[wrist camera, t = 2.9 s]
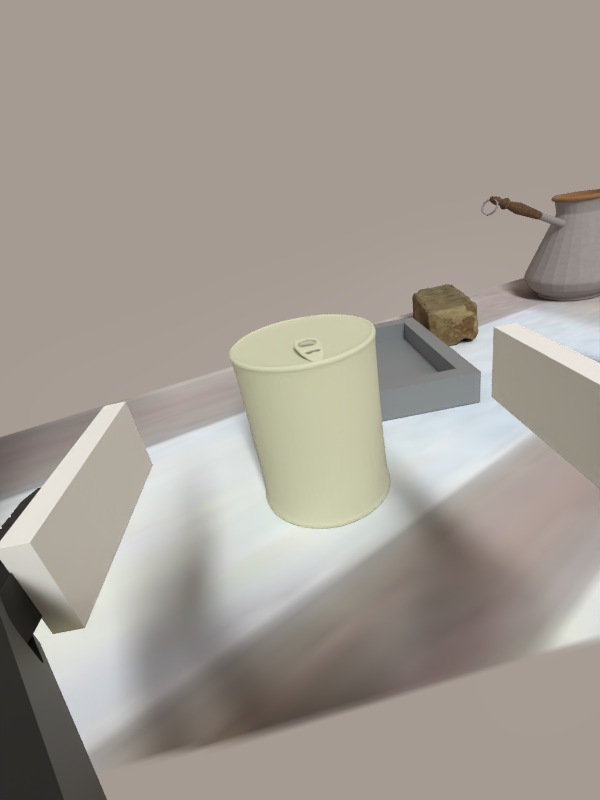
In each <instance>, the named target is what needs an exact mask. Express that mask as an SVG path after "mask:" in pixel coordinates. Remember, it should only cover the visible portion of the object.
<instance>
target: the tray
mask: <svg viewBox="0 0 600 800" xmlns="http://www.w3.org/2000/svg"><path fill="white" fill-rule="evenodd" d="M374 327H375V330H376V334H375V346H376V358H377V371H378V383H379V395H380V405H381V416H382V421H386V420H391V419H396V418H401V417H406V416H411V415H416V414H422V413H427V412H432V411H437V410H442V409H447V408H452V407H457V406H462V405H467V404H472V403H478V402H480V378H481V372H480V371H479V370H478V369H477V368H475V367H474V366H473V365H472V364H470V363H469V362H468V361H467V360H465V359H464V358H463V357H461V356H460V355H459V354H458V353H456V352H455V351H454V350H453V349H451V348H450V347H449V346H448V345H446V344H445V343H444V342H443V341H441V340H440V339H439V338H438V337H436V336H435V335H434V334H433V333H431V332H430V331H429V330H427V329H426V328H425V327H424V326H422V325H421V324H420V323H419V322H417V321H416V320H415V319H414V318H412V317H410V318H405V319H400V320H395V321H390V322H384V323H379V324H374Z"/></svg>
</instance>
